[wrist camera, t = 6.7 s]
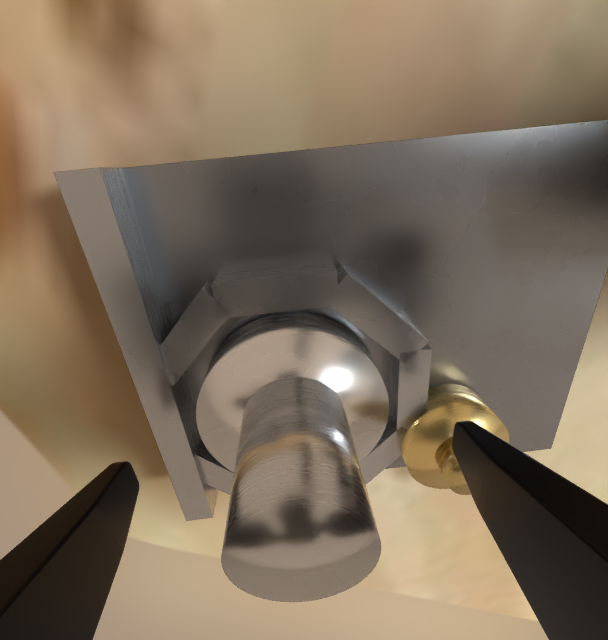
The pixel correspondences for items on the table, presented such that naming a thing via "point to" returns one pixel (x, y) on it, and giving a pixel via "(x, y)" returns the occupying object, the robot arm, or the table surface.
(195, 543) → the table surface
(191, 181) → the plate
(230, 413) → the silver metal knob
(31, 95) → the table surface
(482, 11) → the table surface
